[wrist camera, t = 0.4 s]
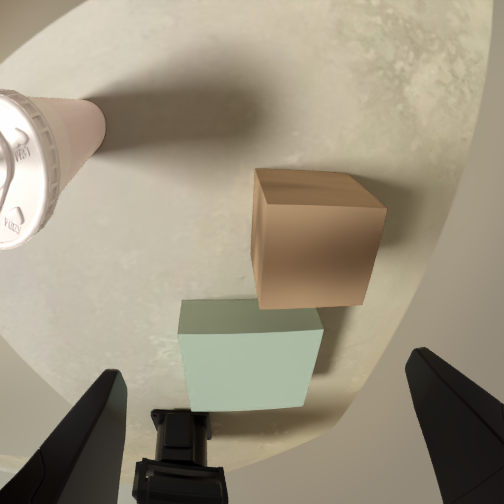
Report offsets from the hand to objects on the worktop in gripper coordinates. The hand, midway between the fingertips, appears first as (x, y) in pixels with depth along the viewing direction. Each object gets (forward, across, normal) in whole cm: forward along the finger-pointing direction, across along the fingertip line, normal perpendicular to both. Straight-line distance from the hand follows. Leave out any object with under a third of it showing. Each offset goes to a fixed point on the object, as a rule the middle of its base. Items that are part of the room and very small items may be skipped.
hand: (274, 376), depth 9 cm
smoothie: (+14, +10, -6) cm, 18 cm away
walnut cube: (+14, -4, +1) cm, 14 cm away
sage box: (+14, 0, +13) cm, 19 cm away
